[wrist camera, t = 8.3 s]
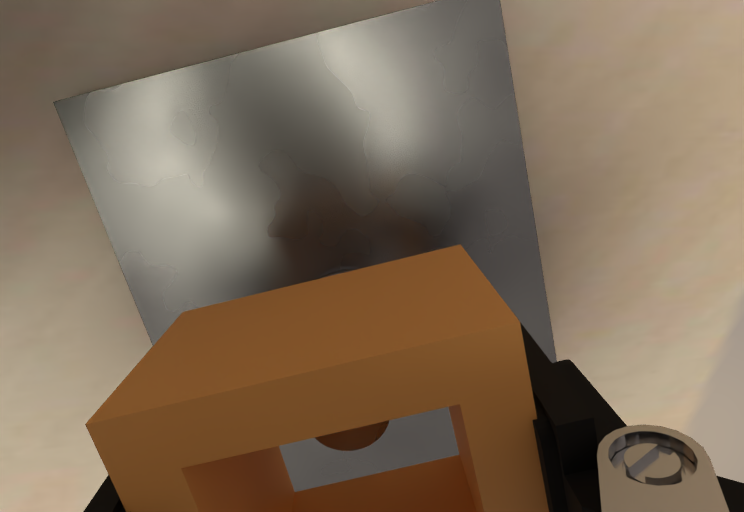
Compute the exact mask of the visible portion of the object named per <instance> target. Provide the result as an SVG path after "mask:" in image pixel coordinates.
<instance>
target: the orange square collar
mask: <svg viewBox="0 0 744 512" xmlns="http://www.w3.org/2000/svg"><path fill="white" fill-rule="evenodd" d="M445 407H449V412H450V416H451V420H452V425H453V429H454V433H455V438H456V442H457V446H458V450H459V455H456V456H451V457H447V458H443V459H438V460H434V461H429V462H425V463H421V464H416V465H412V466H407V467H403V468H399V469H394V470H390V471H385V472H381V473H377V474H372V475H368V476H363V477H359V478H354V479H350V480H346V481H341V482H337V483H332V484H328V485H324V486H319V487H315V488H310V489H306V490H302V491H297V492H295V491H294V488H293V485H292V483H291V480H290V477H289V474H288V471H287V468H286V465H285V463H284V460H283V457H282V454H281V451H280V448H279V446H280V445H284V444H289V443H293V442H297V441H302V440H306V439H310V438H315V437H319V436H323V435H328V434H332V433H336V432H341V431H345V430H349V429H354V428H358V427H362V426H367V425H371V424H375V423H380V422H384V421H388V420H393V419H397V418H401V417H406V416H410V415H414V414H419V413H423V412H427V411H432V410H436V409H440V408H445ZM534 419H537V415H536V409H535V403H534V398H533V392H532V387H531V381H530V375H529V370H528V364H527V358H526V353H525V347H524V342H523V336H522V330H521V325H520V321H519V320H518V318H517V317H516V316H515V315H514V313H513V312H512V311H511V309H510V308H509V307H508V305H507V304H506V303H505V302H504V300H503V299H502V298H501V296H500V295H499V294H498V293H497V291H496V290H495V289H494V287H493V286H492V285H491V283H490V282H489V281H488V280H487V278H486V277H485V276H484V274H483V273H482V272H481V270H480V269H479V268H478V267H477V265H476V264H475V263H474V261H473V260H472V259H471V257H470V256H469V255H468V254H467V252H466V251H465V250H464V248H463V247H462V246H461V244H460V245H455V246H451V247H447V248H443V249H439V250H435V251H431V252H427V253H423V254H419V255H414V256H410V257H406V258H402V259H398V260H394V261H390V262H386V263H382V264H378V265H373V266H369V267H365V268H361V269H357V270H353V271H349V272H345V273H341V274H336V275H332V276H328V277H324V278H320V279H316V280H312V281H308V282H304V283H300V284H295V285H291V286H287V287H283V288H279V289H275V290H271V291H267V292H263V293H259V294H254V295H250V296H246V297H242V298H238V299H234V300H230V301H226V302H222V303H218V304H213V305H209V306H205V307H201V308H197V309H193V310H189V311H185V312H182V313H181V315H180V316H179V317H178V318H177V319H176V320H175V321H174V323H173V324H172V325H171V326H170V327H169V328H168V330H167V331H166V332H165V333H164V334H163V335H162V336H161V338H160V339H159V340H158V341H157V342H156V343H155V345H154V346H153V347H152V348H151V349H150V350H149V351H148V353H147V354H146V355H145V356H144V357H143V358H142V360H141V361H140V362H139V363H138V364H137V365H136V366H135V368H134V369H133V370H132V371H131V372H130V373H129V375H128V376H127V377H126V378H125V379H124V380H123V381H122V383H121V384H120V385H119V386H118V387H117V388H116V390H115V391H114V392H113V393H112V394H111V395H110V396H109V398H108V399H107V400H106V401H105V402H104V403H103V405H102V406H101V407H100V408H99V409H98V410H97V411H96V413H95V414H94V415H93V416H92V417H91V418H90V420H89V421H88V422H87V423H86V424H85V425H86V427H87V429H88V431H89V433H90V436H91V438H92V440H93V442H94V444H95V446H96V448H97V450H98V453H99V455H100V457H101V459H102V461H103V463H104V465H105V468H106V470H107V472H108V474H109V476H110V478H111V480H112V483H113V485H114V487H115V489H116V491H117V493H118V495H119V497H120V500H121V502H122V504H123V506H124V508H125V510H126V512H549V509H548V503H547V498H546V492H545V487H544V481H543V476H542V470H541V465H540V459H539V454H538V448H537V443H536V437H535V432H534V426H533V421H532V420H534Z"/></svg>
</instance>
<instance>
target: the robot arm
mask: <svg viewBox="0 0 744 512" xmlns="http://www.w3.org/2000/svg"><path fill="white" fill-rule="evenodd" d="M514 315H515V314H514ZM520 325H521V330H522V336H523V342H524V347H525V353H526V358H527V364H528V370H529V375H530V381H531V387H532V392H533V398H534V403H535V409H536V415H537V419H534V420H532V421H533V426H534V432H535V437H536V443H537V448H538V454H539V459H540V465H541V470H542V476H543V481H544V487H545V492H546V498H547V503H548V509H549V512H744V483H740V482H737V481H733V480H730V479H726V478H723V477H719V476H716V474H715V471H714V468H713V465H712V463H711V460H710V458H709V456H708V455H707V453H706V451H705V450H704V448H703V447H702V446H701V445H700V444H698V443H697V442H696V441H695V440H693V439H692V438H691V437H689V436H687V435H685V434H683V433H681V432H679V431H676V430H673V429H669V428H665V427H662V426H653V425H634V426H627V425H626V424H625V423H624V422H623V421H622V420H621V418H620V417H619V416H618V415H617V414H616V413H615V411H614V410H613V409H612V408H611V407H610V406H609V404H608V403H607V402H606V401H605V400H604V399H603V397H602V396H601V395H600V394H599V393H598V392H597V390H596V389H595V388H594V387H593V386H592V384H591V383H590V382H589V381H588V380H587V379H586V377H585V376H584V375H583V374H582V373H581V372H580V370H579V369H578V368H577V367H576V366H575V365H574V363H573V362H571V361H570V360H563V361H558V362H554V363H552V362H551V361H550V360H549V359H548V357H547V356H546V355H545V353H544V352H543V351H542V349H541V348H540V347H539V346H538V344H537V343H536V342H535V340H534V339H533V338H532V336H531V335H530V334H529V333H528V331H527V330H526V329H525V327H524V326H523V325H522V323H521V322H520ZM84 512H126V510H125V508H124V506H123V504H122V502H121V500H120V497H119V495H118V493H117V491H116V489H115V487H114V485H113V483H112V480H111V478H110V476H109V475H108V477H107V478H106V479H105V481H104V482H103V484H102V485H101V487H100V488H99V490H98V491H97V493H96V494H95V496H94V497H93V499H92V500H91V501H90V503H89V504H88V506H87V507H86V509H85V510H84Z"/></svg>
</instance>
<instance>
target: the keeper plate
mask: <svg viewBox="0 0 744 512" xmlns="http://www.w3.org/2000/svg"><path fill="white" fill-rule="evenodd" d="M53 103H54V105H55V108H56V110H57V113H58V115H59V117H60V120H61V122H62V125H63V127H64V130H65V132H66V135H67V137H68V139H69V142H70V144H71V147H72V149H73V152H74V154H75V156H76V159H77V161H78V164H79V166H80V169H81V171H82V174H83V176H84V178H85V181H86V183H87V186H88V188H89V191H90V193H91V196H92V198H93V200H94V203H95V205H96V208H97V210H98V213H99V215H100V218H101V220H102V222H103V225H104V227H105V230H106V232H107V235H108V237H109V240H110V242H111V244H112V247H113V249H114V252H115V254H116V257H117V259H118V262H119V264H120V266H121V269H122V271H123V274H124V276H125V279H126V281H127V284H128V286H129V288H130V291H131V293H132V296H133V298H134V301H135V303H136V306H137V308H138V310H139V313H140V315H141V318H142V320H143V323H144V325H145V328H146V330H147V332H148V335H149V337H150V340H151V342H152V345H153V346H154V345H155V343H156V342H157V341H158V340H159V339H160V338H161V336H162V335H163V334H164V333H165V332H166V331H167V330H168V328H169V327H170V326H171V325H172V324H173V323H174V321H175V320H176V319H177V318H178V317H179V316H180V315H181V313H182V312H185V311H189V310H193V309H197V308H201V307H205V306H209V305H213V304H218V303H222V302H226V301H230V300H234V299H238V298H242V297H246V296H250V295H254V294H259V293H263V292H267V291H271V290H275V289H279V288H283V287H287V286H291V285H295V284H300V283H304V282H308V281H312V280H316V279H320V278H324V277H328V276H332V275H336V274H341V273H345V272H349V271H353V270H357V269H361V268H365V267H369V266H373V265H378V264H382V263H386V262H390V261H394V260H398V259H402V258H406V257H410V256H414V255H419V254H423V253H427V252H431V251H435V250H439V249H443V248H447V247H451V246H455V245H460V244H461V246H462V247H463V248H464V250H465V251H466V252H467V254H468V255H469V256H470V257H471V259H472V260H473V261H474V263H475V264H476V265H477V267H478V268H479V269H480V270H481V272H482V273H483V274H484V276H485V277H486V278H487V280H488V281H489V282H490V283H491V285H492V286H493V287H494V289H495V290H496V291H497V293H498V294H499V295H500V296H501V298H502V299H503V300H504V302H505V303H506V304H507V305H508V307H509V308H510V309H511V311H512V312H513V313H514V314H515V316H516V317H517V318H518V320H519V321H520V322H521V323H522V325H523V326H524V327H525V329H526V330H527V331H528V333H529V334H530V335H531V336H532V338H533V339H534V340H535V342H536V343H537V344H538V346H539V347H540V348H541V349H542V351H543V352H544V353H545V355H546V356H547V357H548V359H549V360H550V361H551V362H552V363H554V362H557V360H556V354H555V348H554V341H553V335H552V329H551V322H550V316H549V310H548V303H547V297H546V291H545V284H544V278H543V271H542V265H541V259H540V252H539V246H538V240H537V233H536V227H535V221H534V214H533V208H532V202H531V195H530V189H529V182H528V176H527V170H526V163H525V157H524V151H523V144H522V138H521V132H520V125H519V119H518V113H517V106H516V100H515V93H514V87H513V81H512V74H511V68H510V62H509V55H508V49H507V43H506V36H505V30H504V24H503V17H502V11H501V5H500V0H439V1H435V2H431V3H428V4H424V5H420V6H416V7H412V8H409V9H405V10H401V11H397V12H393V13H390V14H386V15H382V16H378V17H374V18H370V19H367V20H363V21H359V22H355V23H351V24H348V25H344V26H340V27H336V28H332V29H329V30H325V31H321V32H317V33H313V34H310V35H306V36H302V37H298V38H294V39H291V40H287V41H283V42H279V43H275V44H272V45H268V46H264V47H260V48H256V49H253V50H249V51H245V52H241V53H237V54H234V55H230V56H226V57H222V58H218V59H215V60H211V61H207V62H203V63H199V64H196V65H192V66H188V67H184V68H180V69H177V70H173V71H169V72H165V73H161V74H158V75H154V76H150V77H146V78H142V79H139V80H135V81H131V82H127V83H123V84H120V85H116V86H112V87H108V88H104V89H101V90H97V91H93V92H89V93H85V94H82V95H78V96H74V97H70V98H66V99H63V100H59V101H55V102H53ZM279 448H280V451H281V454H282V457H283V460H284V463H285V465H286V468H287V471H288V474H289V477H290V480H291V483H292V485H293V488H294V491H295V492H297V491H302V490H306V489H310V488H315V487H319V486H324V485H328V484H332V483H337V482H341V481H346V480H350V479H354V478H359V477H363V476H368V475H372V474H377V473H381V472H385V471H390V470H394V469H399V468H403V467H407V466H412V465H416V464H421V463H425V462H429V461H434V460H438V459H443V458H447V457H451V456H456V455H459V450H458V446H457V442H456V438H455V433H454V429H453V425H452V420H451V416H450V412H449V407H445V408H440V409H436V410H432V411H427V412H423V413H419V414H414V415H410V416H406V417H401V418H397V419H393V420H388V421H384V422H380V423H375V424H371V425H367V426H362V427H358V428H354V429H349V430H345V431H341V432H336V433H332V434H328V435H323V436H319V437H315V438H310V439H306V440H302V441H297V442H293V443H289V444H284V445H280V446H279Z"/></svg>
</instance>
